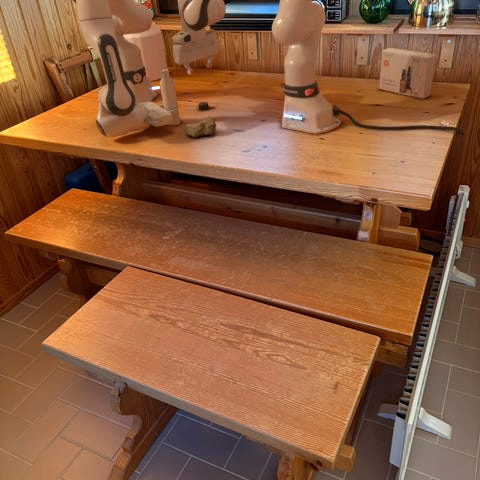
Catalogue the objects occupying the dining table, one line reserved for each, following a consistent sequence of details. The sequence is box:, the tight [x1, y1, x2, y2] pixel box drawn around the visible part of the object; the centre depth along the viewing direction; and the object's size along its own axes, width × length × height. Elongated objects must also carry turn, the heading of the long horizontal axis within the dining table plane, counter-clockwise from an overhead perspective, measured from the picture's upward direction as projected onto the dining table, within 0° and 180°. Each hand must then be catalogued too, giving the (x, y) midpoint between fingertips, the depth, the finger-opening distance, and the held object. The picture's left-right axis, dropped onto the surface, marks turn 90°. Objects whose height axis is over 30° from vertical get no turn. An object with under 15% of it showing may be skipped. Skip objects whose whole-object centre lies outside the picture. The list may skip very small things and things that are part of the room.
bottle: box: [159, 68, 182, 127], centre depth 176 cm, size 5×5×20 cm
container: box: [123, 21, 168, 82], centre depth 235 cm, size 21×21×28 cm
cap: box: [198, 101, 210, 111], centre depth 193 cm, size 4×4×2 cm
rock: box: [185, 115, 218, 138], centre depth 169 cm, size 11×6×10 cm
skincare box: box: [378, 47, 437, 100], centre depth 184 cm, size 21×6×16 cm, turn 40°
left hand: (173, 108), depth 179 cm, fingers open, 6 cm apart
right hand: (200, 70), depth 184 cm, fingers open, 8 cm apart
